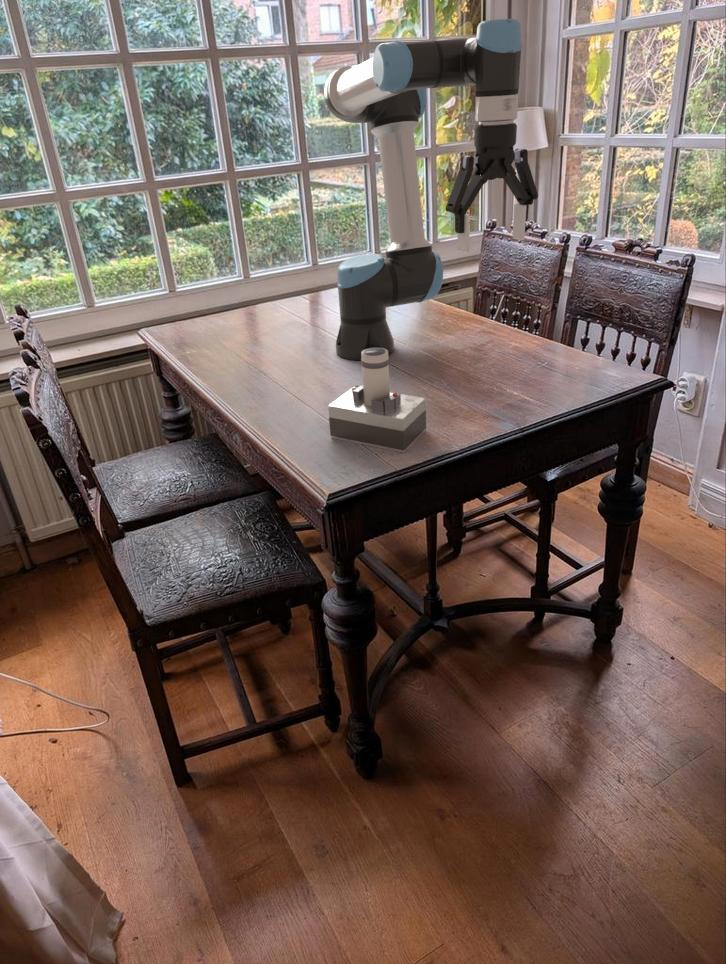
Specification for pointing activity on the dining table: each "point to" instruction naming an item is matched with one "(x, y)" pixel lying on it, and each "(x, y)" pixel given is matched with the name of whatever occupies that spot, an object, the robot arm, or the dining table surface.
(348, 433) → the two-tone block with arcs
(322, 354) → the dining table surface
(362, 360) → the lens
